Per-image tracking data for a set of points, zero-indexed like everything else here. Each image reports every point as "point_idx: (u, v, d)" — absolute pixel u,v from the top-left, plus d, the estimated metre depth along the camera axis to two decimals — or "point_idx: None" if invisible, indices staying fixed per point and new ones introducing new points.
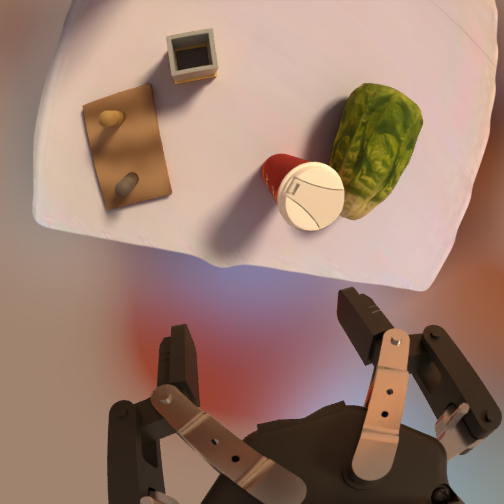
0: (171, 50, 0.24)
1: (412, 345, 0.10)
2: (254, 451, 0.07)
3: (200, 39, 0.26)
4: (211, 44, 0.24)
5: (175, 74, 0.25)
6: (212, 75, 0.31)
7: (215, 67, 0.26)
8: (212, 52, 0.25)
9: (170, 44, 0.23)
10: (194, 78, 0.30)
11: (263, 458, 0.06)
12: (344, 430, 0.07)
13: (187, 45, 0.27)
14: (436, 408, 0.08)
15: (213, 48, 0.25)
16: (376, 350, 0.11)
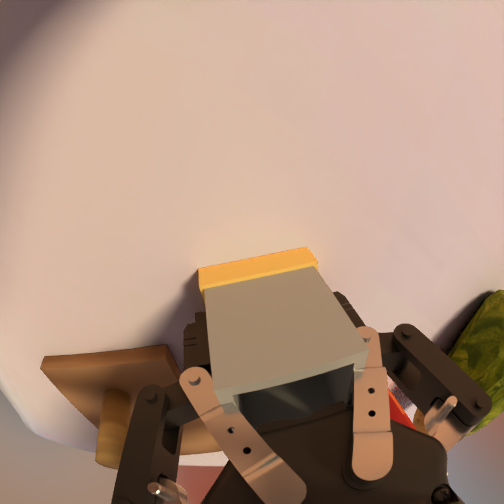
0: None
1: (383, 343, 0.11)
2: (267, 446, 0.07)
3: None
4: None
5: None
6: None
7: None
8: None
9: None
10: None
11: (274, 455, 0.06)
12: (344, 430, 0.07)
13: None
14: (420, 404, 0.09)
15: None
16: None
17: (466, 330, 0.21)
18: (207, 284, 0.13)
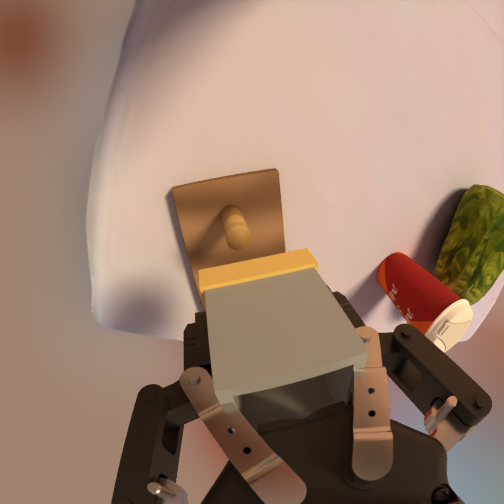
0: None
1: (383, 343, 0.11)
2: (267, 446, 0.07)
3: None
4: None
5: None
6: None
7: None
8: None
9: None
10: None
11: (274, 455, 0.06)
12: (344, 430, 0.07)
13: None
14: (420, 404, 0.09)
15: None
16: None
17: (455, 212, 0.32)
18: (207, 285, 0.13)
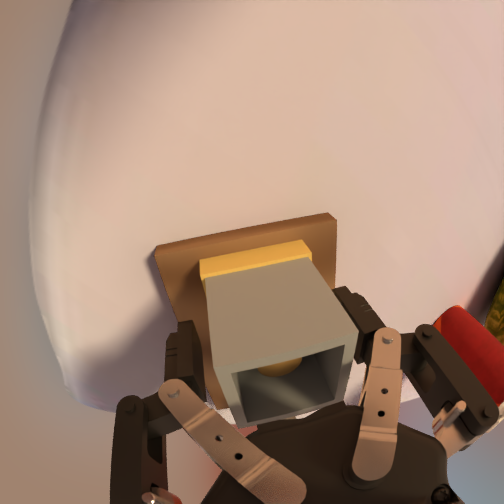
0: (234, 394, 0.10)
1: (404, 344, 0.10)
2: (257, 449, 0.07)
3: None
4: (343, 368, 0.10)
5: (247, 425, 0.11)
6: None
7: (337, 400, 0.12)
8: (340, 382, 0.11)
9: (230, 384, 0.09)
10: None
11: (266, 457, 0.06)
12: (344, 430, 0.07)
13: None
14: (432, 407, 0.09)
15: (345, 375, 0.11)
16: (368, 349, 0.11)
17: None
18: (208, 273, 0.13)
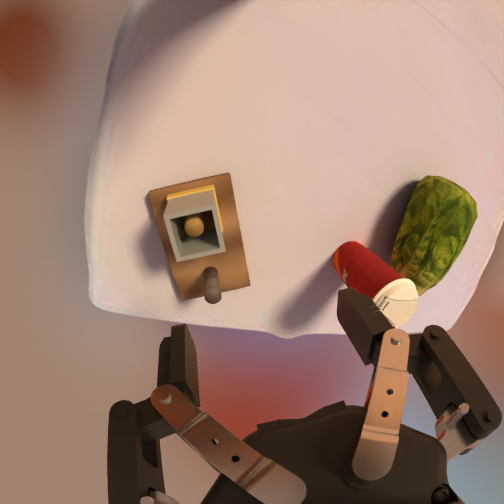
0: (172, 233, 0.27)
1: (412, 345, 0.10)
2: (254, 451, 0.07)
3: None
4: (216, 224, 0.27)
5: (180, 260, 0.28)
6: None
7: (223, 250, 0.29)
8: (218, 234, 0.28)
9: (169, 225, 0.26)
10: None
11: (263, 458, 0.06)
12: (344, 430, 0.07)
13: None
14: (436, 408, 0.08)
15: (219, 229, 0.28)
16: (376, 350, 0.11)
17: None
18: (169, 197, 0.31)
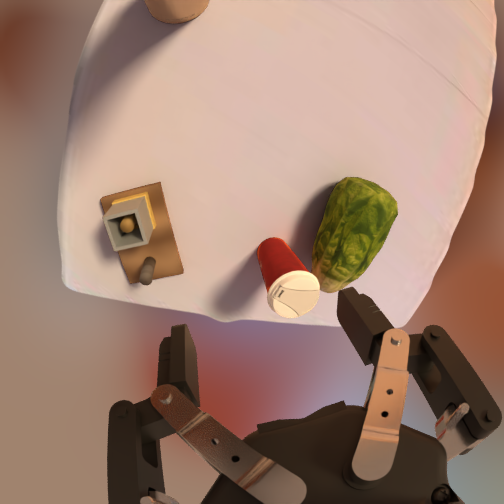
0: (109, 230, 0.34)
1: (412, 345, 0.10)
2: (254, 451, 0.07)
3: None
4: (139, 223, 0.35)
5: (116, 250, 0.36)
6: None
7: (146, 243, 0.36)
8: (141, 231, 0.35)
9: (107, 224, 0.34)
10: None
11: (263, 458, 0.06)
12: (344, 430, 0.07)
13: None
14: (436, 408, 0.08)
15: (141, 227, 0.35)
16: (376, 350, 0.11)
17: None
18: (114, 202, 0.38)
